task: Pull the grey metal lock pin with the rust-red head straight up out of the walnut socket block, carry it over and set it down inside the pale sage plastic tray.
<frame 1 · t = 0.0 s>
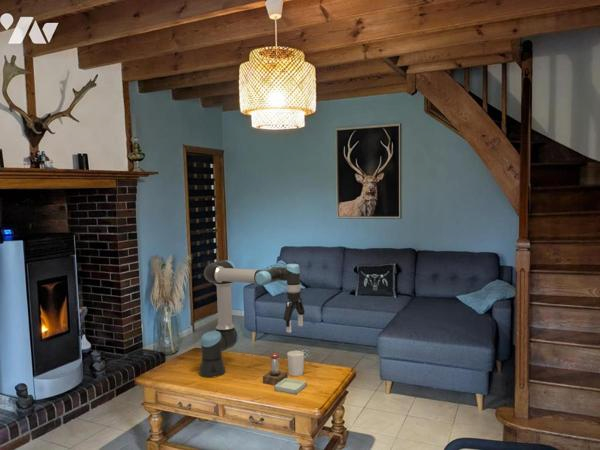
hand: (294, 329, 259), 28 cm above the table, fingers open, 13 cm apart
lock pin: (274, 367, 255), in the socket block
candle holder: (296, 373, 267), on the table
socket block: (275, 381, 256), on the table
tray: (290, 388, 246), on the table
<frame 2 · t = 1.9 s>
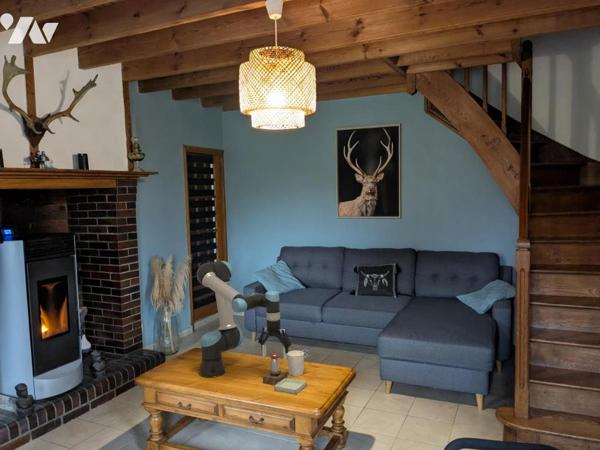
hand: (275, 357, 255), 14 cm above the table, fingers open, 13 cm apart
nothing on the table moved.
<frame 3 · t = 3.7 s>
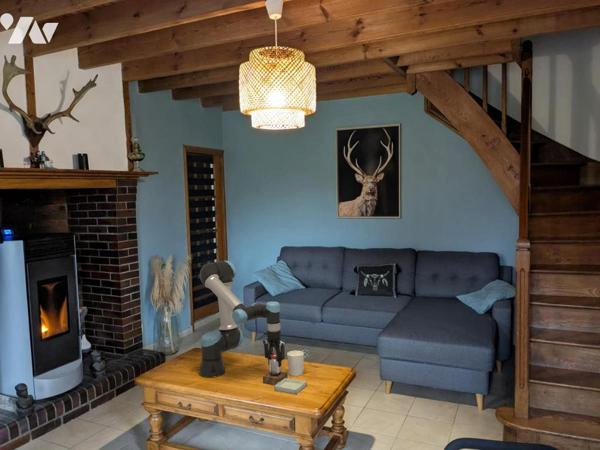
hand: (275, 371, 256), 6 cm above the table, fingers closed on lock pin, 4 cm apart
lock pin: (275, 367, 255), in the socket block, touching gripper
everything else where it was.
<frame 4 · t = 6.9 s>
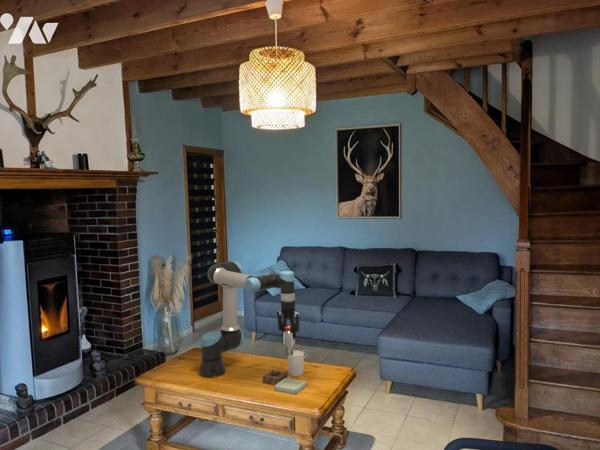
hand: (289, 343, 244), 24 cm above the table, fingers closed on lock pin, 4 cm apart
lock pin: (289, 340, 244), point 26 cm above the table, touching gripper
everything else where it was.
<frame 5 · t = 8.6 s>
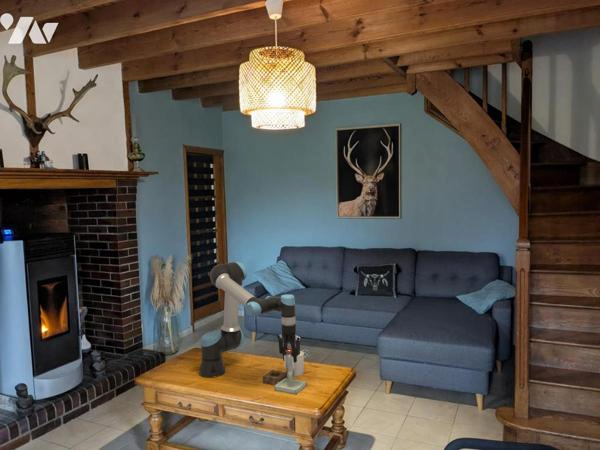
hand: (290, 367, 245), 12 cm above the table, fingers closed on lock pin, 4 cm apart
lock pin: (290, 363, 245), point 14 cm above the table, touching gripper
everything else where it was.
when the fingers open (8 cm above the table, at t = 10.0 s): lock pin drops 1 cm, resting on tray.
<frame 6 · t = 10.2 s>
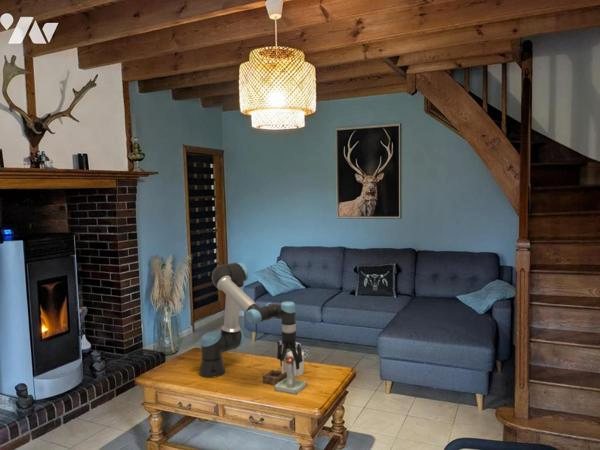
hand: (290, 373, 245), 8 cm above the table, fingers open, 7 cm apart
lock pin: (290, 372, 245), in the tray, point 9 cm above the table
everything else where it was.
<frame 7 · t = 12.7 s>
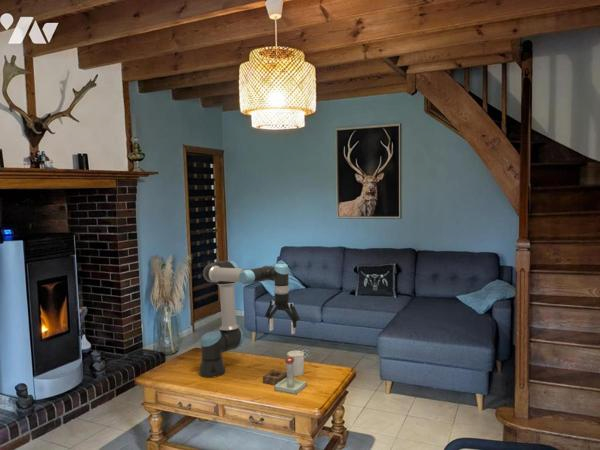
hand: (282, 331, 248), 30 cm above the table, fingers open, 13 cm apart
nothing on the table moved.
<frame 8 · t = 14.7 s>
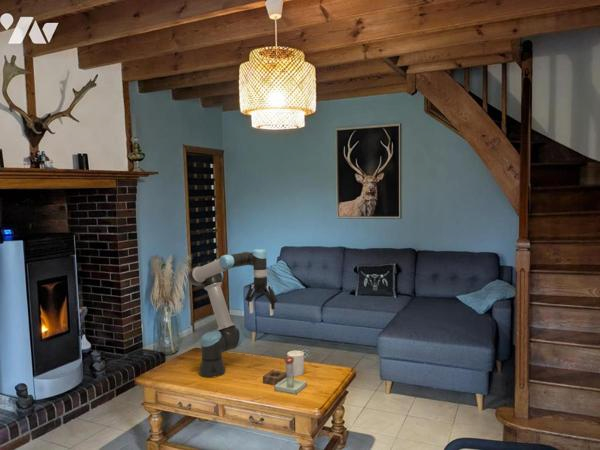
hand: (261, 314, 260), 37 cm above the table, fingers open, 13 cm apart
nothing on the table moved.
at the end: lock pin inside the target area on the tray (0.1 cm from its centre), point 8.6 cm above the tray's base; the gripper is holding nothing; lock pin moved 13.4 cm from its start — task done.
